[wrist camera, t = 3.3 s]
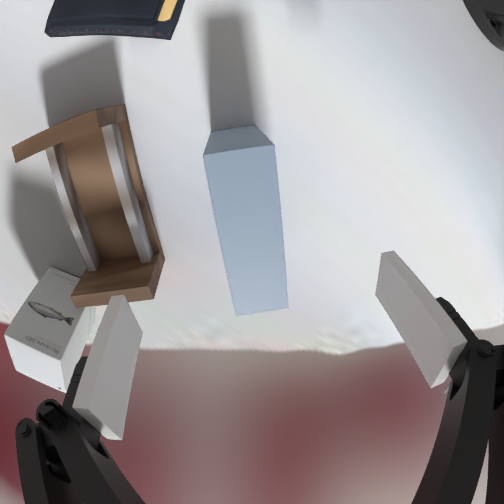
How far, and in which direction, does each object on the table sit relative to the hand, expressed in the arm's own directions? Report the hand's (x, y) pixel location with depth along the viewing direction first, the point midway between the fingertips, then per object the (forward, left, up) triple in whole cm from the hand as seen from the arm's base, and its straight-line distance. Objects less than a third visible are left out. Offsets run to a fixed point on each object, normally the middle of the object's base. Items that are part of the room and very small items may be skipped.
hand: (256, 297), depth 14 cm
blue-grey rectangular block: (0, 0, -16) cm, 16 cm away
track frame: (-2, -14, -16) cm, 21 cm away
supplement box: (+9, -24, -16) cm, 30 cm away
